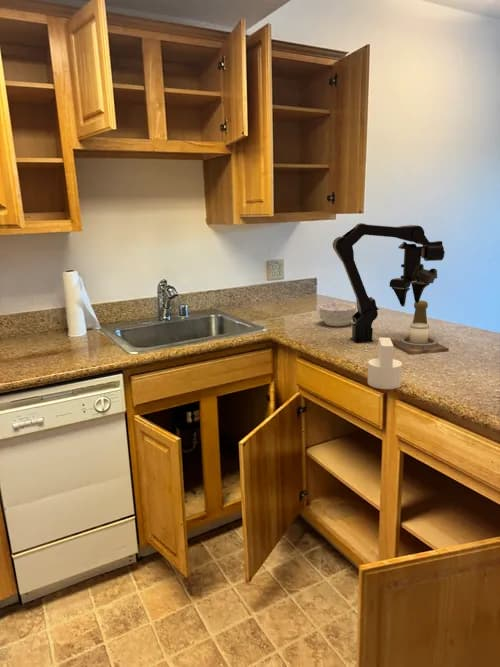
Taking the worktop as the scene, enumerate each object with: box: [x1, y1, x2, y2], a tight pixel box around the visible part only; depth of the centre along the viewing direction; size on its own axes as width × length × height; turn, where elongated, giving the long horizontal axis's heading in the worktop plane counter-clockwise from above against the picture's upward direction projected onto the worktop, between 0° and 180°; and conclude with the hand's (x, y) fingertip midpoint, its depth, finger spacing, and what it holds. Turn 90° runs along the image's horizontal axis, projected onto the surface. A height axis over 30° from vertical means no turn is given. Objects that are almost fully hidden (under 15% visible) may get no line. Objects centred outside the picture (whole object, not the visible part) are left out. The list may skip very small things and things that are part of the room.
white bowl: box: [318, 302, 357, 327], centre depth 202 cm, size 15×15×8 cm
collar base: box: [391, 335, 450, 355], centre depth 165 cm, size 14×14×2 cm
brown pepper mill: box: [412, 300, 429, 324], centre depth 191 cm, size 6×6×11 cm
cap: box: [409, 322, 430, 344], centre depth 164 cm, size 6×6×7 cm
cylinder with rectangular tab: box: [367, 337, 403, 390], centre depth 131 cm, size 9×9×12 cm
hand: (409, 304), depth 173 cm, fingers open, 9 cm apart
